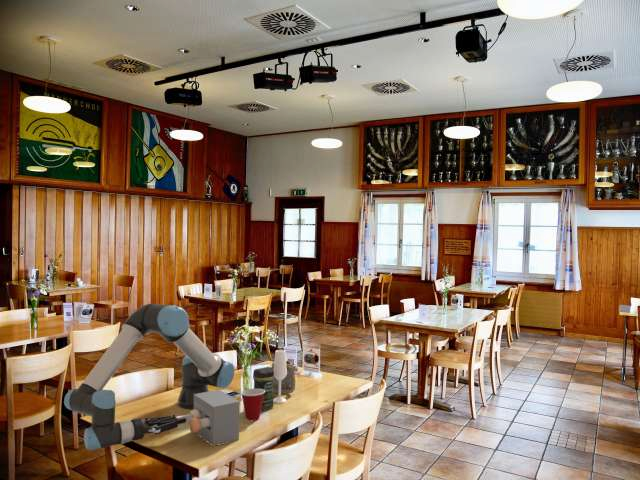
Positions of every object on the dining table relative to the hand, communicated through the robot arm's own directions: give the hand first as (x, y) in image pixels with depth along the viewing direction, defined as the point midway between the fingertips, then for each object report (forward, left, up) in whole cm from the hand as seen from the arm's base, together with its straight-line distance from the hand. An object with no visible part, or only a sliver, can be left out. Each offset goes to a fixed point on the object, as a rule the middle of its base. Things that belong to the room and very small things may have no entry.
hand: (192, 417), depth 196 cm
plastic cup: (-16, +25, -8) cm, 31 cm away
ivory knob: (-3, +5, -3) cm, 6 cm away
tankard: (-50, +45, -8) cm, 68 cm away
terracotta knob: (+7, +5, -3) cm, 9 cm away
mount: (0, +9, -8) cm, 12 cm away
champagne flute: (-37, +40, -8) cm, 55 cm away
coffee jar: (-28, +31, -8) cm, 42 cm away
